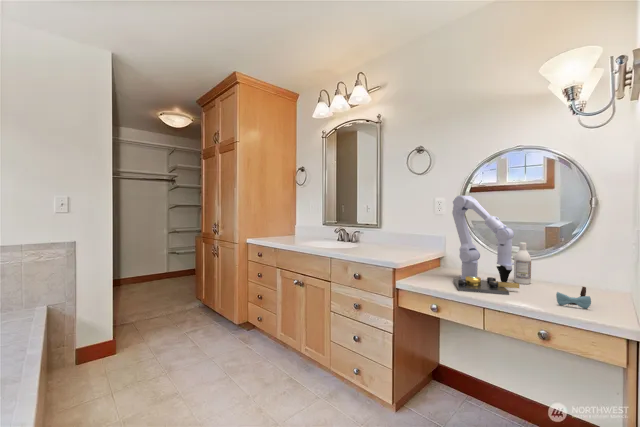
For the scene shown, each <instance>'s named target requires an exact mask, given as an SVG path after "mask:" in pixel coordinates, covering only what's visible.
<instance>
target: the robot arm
mask: <svg viewBox="0 0 640 427" xmlns="http://www.w3.org/2000/svg"><path fill="white" fill-rule="evenodd" d="M453 199H454V200H453V201H452V204H453V206H452V212H451V214H452V217H453V220H454V224H455V228H456V231H457V235H458V239H459V242H460V247H459V259H460V261H461V274H460V275H459V279H466V276H476V277H478V269H479V268H478V263H479V262H478V260H479V259H480V258H481V253H480V251H479V250H478V248H477V246H476V245H475V244H474V243H473V240H472V236H471V233H470V230H469V227H468V224H467V223H468V222H467V219H466V216H465V214H466V213H467V211H468V210H473V211H474V212H475V214H477V215H478V216H479V217H481V218H482V219H483V220H484V225H486V226H487V228H489V229H490V230H491V231H492V232H493V234H495V238H496V240H497V252H496V253H497V256H496V257H497V259H496V261H497V262H496V266H495V268H496V269H497V271H498V274H499V278H500V282H508V280H509V276H510V274H511V272H512V271H513V266H514V262H513V261H512V259H513V258H512V256H513V254H512V253H513V252H512V251H513V238H514V236H515V232H514V230H513V229H512V227H508V225H507V224H504V223H503V222H502V221H501V220H500V218H499V217H498V216H496V215H491V214H490V213H489V212H488V211H487V210H486V209H485V208H484V207H483V206H482V205H481V204H480V203H479V201H478V200H477V199H476V198H474V196H472V195H470V194H469V195H461V194H459V195H457V196H456V197H454V198H453Z"/></svg>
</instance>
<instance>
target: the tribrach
mask: <svg viewBox="0 0 640 427" xmlns="http://www.w3.org/2000/svg"><path fill="white" fill-rule="evenodd" d="M486 278H487V279H486V280H484V279H483V280H482V278H481V277H479V276H477V277H476V276H466V279H461V278H458V277H457V278H453V279H452V280H453V283H454V285H455V287H456V288H457V289H456V290H457V291H458V292H471V293H481V294H494V295H506V296H507V295H508V296H509V295H510V290H508V289H507V287H491V286H489V281H497V282H499V281H498V280H497V278H496V277H492V276H490V277H486Z"/></svg>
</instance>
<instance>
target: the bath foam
mask: <svg viewBox="0 0 640 427" xmlns="http://www.w3.org/2000/svg"><path fill="white" fill-rule="evenodd" d="M518 246H519V247H518V248H519V249H518V250H517V252H516V253H515V255H514V257H513V263H514V265H513V283H519V285H520V284H521V285H530V284H531V282H532V281H531V280H532V258H531V255H530V253H529V252H528V250H527V242H519V244H518Z"/></svg>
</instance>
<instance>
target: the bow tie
mask: <svg viewBox="0 0 640 427" xmlns="http://www.w3.org/2000/svg"><path fill="white" fill-rule="evenodd" d="M555 297H556V302H557V304H558V305H559V306H564V305H565V306H566V305H571V304H570V303H576V304H575V305H577V306H578V307H579V308H582V309H584V310H585V309H586V310H587V309H589V308H590V306H591V304H592V299H591V296H589V295H585V296H582V297H580V296H578V297H573V296H572V297H571V298H570V296H569V295H567V294H564V293H561V292H559V291H557V292H556V295H555Z"/></svg>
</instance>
